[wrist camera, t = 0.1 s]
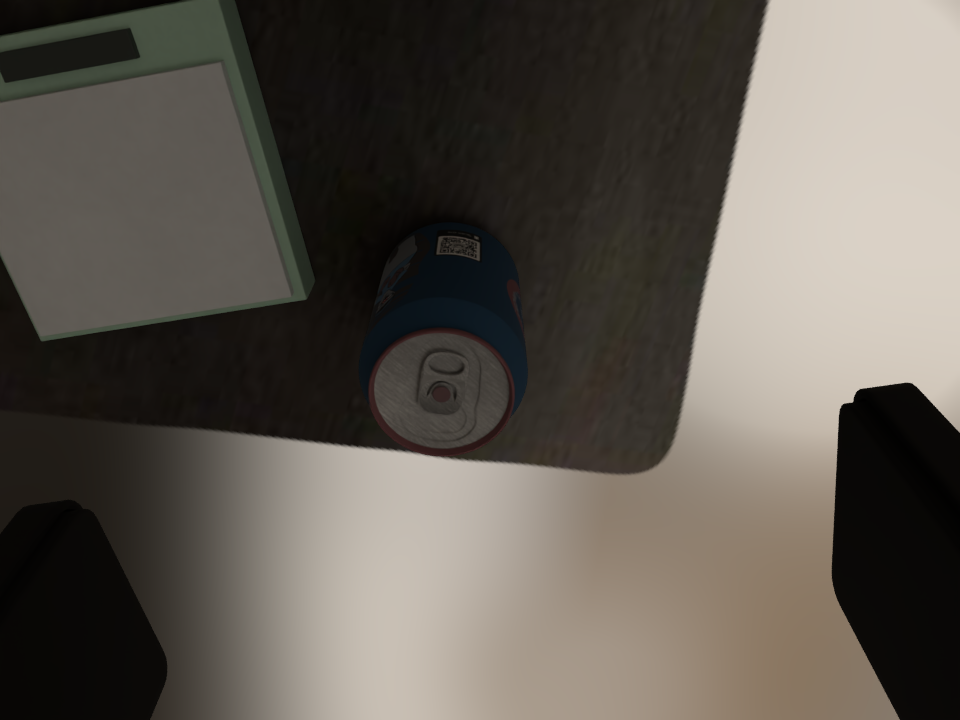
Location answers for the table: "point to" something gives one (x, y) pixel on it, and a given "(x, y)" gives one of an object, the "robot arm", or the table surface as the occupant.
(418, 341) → the soda can
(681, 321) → the table surface
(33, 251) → the scale
